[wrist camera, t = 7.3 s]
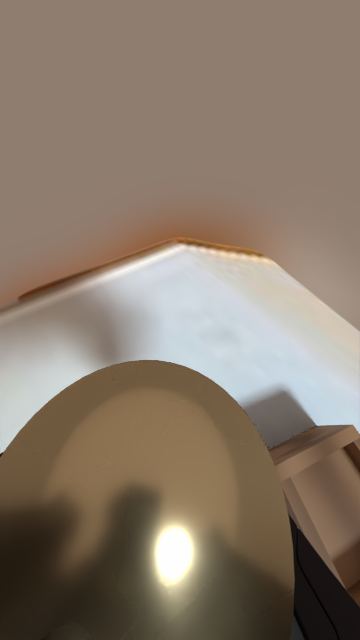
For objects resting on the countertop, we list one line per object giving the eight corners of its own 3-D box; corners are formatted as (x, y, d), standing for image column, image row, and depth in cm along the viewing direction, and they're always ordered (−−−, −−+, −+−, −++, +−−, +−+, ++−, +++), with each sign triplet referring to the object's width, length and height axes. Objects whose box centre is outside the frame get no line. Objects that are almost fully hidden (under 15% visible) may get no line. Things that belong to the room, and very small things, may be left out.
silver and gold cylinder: (135, 539, 9) (-43, 1322, 1) (96, 439, 11) (-73, 462, 3) (212, 466, 10) (359, 563, 3) (167, 391, 12) (179, 324, 5)
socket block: (307, 594, 14) (360, 653, 11) (249, 459, 19) (272, 467, 15) (384, 534, 17) (451, 565, 13) (317, 425, 21) (352, 424, 17)
